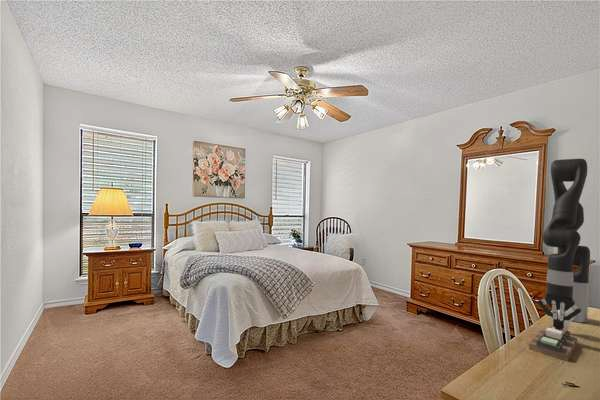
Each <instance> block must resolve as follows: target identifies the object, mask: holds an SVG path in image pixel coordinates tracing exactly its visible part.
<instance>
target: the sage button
mask: <svg viewBox="0 0 600 400" xmlns="http://www.w3.org/2000/svg"><path fill="white" fill-rule="evenodd" d="M541 342H543V343H546V344H550V345H553V346H556V347H557V346H558V341H557V340H554V339H550V338H547V337H542V339H541Z"/></svg>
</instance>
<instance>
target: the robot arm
mask: <svg viewBox="0 0 600 400" xmlns="http://www.w3.org/2000/svg"><path fill="white" fill-rule="evenodd" d="M550 175H551V176H550V177H551V182H552V183H551V184H552V187H553V194H554V196H553V197H554V205H553V209H552V215H551V220H550V222H549V223H548V225H547V227H546V228H545V230H544V232H543V234H542V241H543V243H544V245H545V246H547V247H552V248H557V253H550V254H549V255H548V259H547V261H548V262H547V273H546V279H545V280H546V290H545V296H544V298H542V299H538V301H537V303H538V305H539V306H540V307H541V309H542V310H543V311H544V312H545V314H546V315H547V317H548V316H549V317H551V318H552V319H553V320H552V326H554V327H555V329H556V330H560V331H561V329H563V328H564V320H570V319H571V318H573V317H574V316H575V317H574V319H573V320H572V321H571V322H576V323H582V322H585V323H588V321H589V319H588V317H589V316H588V315H589V283H590V282H589V274H590V273H589V272H590V263H591V262H590V261H591V250H590V248H589V247H588V246H586V245H585V246H584V245H580V243H581V238H582V237H581V234H580V233H579V232H578V231H579V229H581V228H582V226H583V224H584V222H585V215H584V212H585V211H584V207H583V205H582V204H581V203H580V199H581V196H582V193H583V189H584V187H585V185H586V180H587V176H588V163H587V160H586V159H584V158H567V159H566V158H565V159H556V160H553V161H552V162H551V165H550ZM564 182H570V183H571V182H572V185H570V187H569V188H567V187H566V185H565V183H564ZM574 266H575V267H578V269H576V270H573V269H574ZM547 304H548V306H549V307H550V308H551V309H552V311H551V309H550V308H549V307H548V306H547ZM570 308H572V311H573V312H572V313H570V314H569V315H568V316H565V311H567V310H568V309H570ZM558 310H560V312H559V319H558Z"/></svg>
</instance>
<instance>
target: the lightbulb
mask: <svg viewBox="0 0 600 400" xmlns="http://www.w3.org/2000/svg"><path fill="white" fill-rule="evenodd" d="M559 312H560V310H558V319H559ZM572 312H573V311H572V308H570V309H568V310H567V311H565V316H568V315H569V314H570V313H572ZM574 317H575V316H574ZM574 317H573V318H571V319H570V320H564V328H563V329H565V330H566V331H569V327H570V324H571V322H573V321H572V320H573V319H574Z"/></svg>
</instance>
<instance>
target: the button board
mask: <svg viewBox="0 0 600 400" xmlns="http://www.w3.org/2000/svg"><path fill="white" fill-rule="evenodd" d="M551 327H552V326H549V328H551ZM542 337H547V338H550V339H554V340H557V341H558V346H557V347H556V346H553V345H550V344H546V343H543V342H541V339H542ZM577 345H578V337H574V336H572V335H571V331H569V330H568V331H566V335H565V334H563V337H562V338H561V340H560V339H556V338H552V337H549V336H546V328H542V329H541V330H540V331H539V332H538V333H537V334H536V335H535V336H534V337H533V339H531V341H530V342H529V343H528V350H531V351H534V352H538V353H541V354H544V355H547V356H551V357H554V358H557V359H560V360H563V361H566V362H568V361H569V359H570V357H571V356H572V354H573V352H574V350H575V348H576V346H577Z"/></svg>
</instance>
